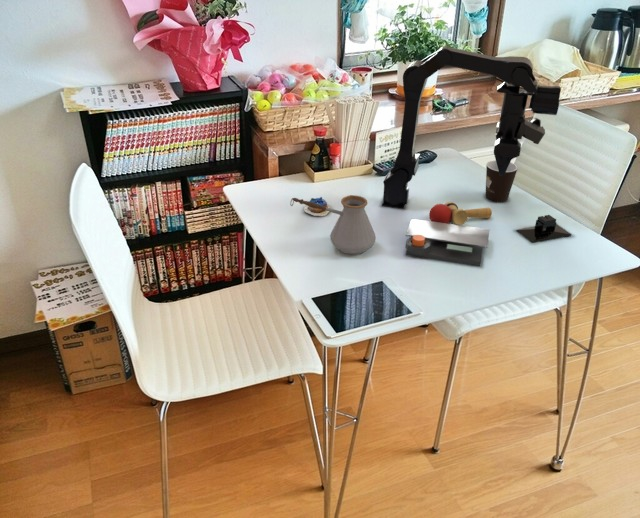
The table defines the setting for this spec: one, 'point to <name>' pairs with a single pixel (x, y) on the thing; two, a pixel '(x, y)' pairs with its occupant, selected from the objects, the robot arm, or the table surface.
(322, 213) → the dessert
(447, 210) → the kendama
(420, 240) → the button
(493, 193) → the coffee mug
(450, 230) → the pan
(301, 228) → the table surface
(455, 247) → the scale display
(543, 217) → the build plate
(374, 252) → the table surface
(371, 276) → the table surface
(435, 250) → the scale
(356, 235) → the coffee pot
